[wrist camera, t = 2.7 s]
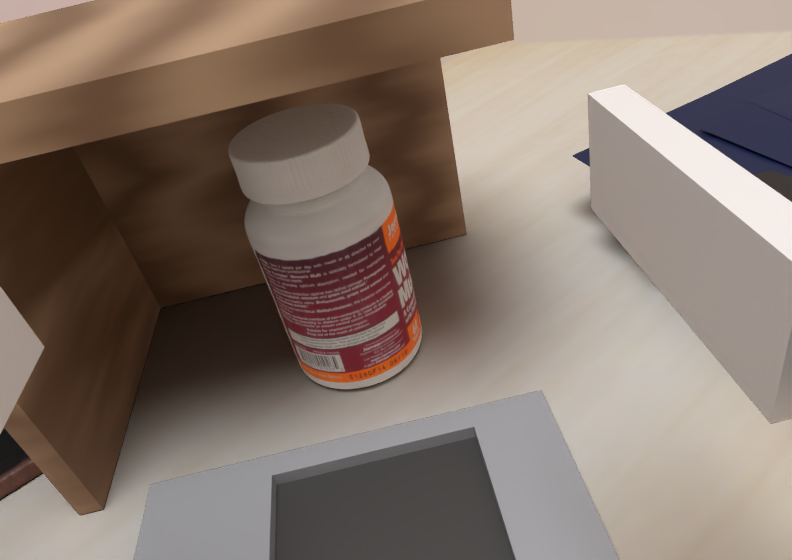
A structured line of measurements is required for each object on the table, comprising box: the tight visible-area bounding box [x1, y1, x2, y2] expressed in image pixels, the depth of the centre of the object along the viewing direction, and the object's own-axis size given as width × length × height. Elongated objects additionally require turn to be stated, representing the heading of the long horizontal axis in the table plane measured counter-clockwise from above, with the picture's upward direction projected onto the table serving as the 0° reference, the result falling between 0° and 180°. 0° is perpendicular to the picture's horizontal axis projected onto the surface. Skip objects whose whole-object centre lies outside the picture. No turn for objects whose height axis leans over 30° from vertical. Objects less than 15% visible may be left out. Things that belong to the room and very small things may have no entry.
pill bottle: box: [228, 103, 422, 389], centre depth 27 cm, size 6×6×11 cm
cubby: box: [0, 0, 514, 515], centre depth 26 cm, size 19×14×16 cm
